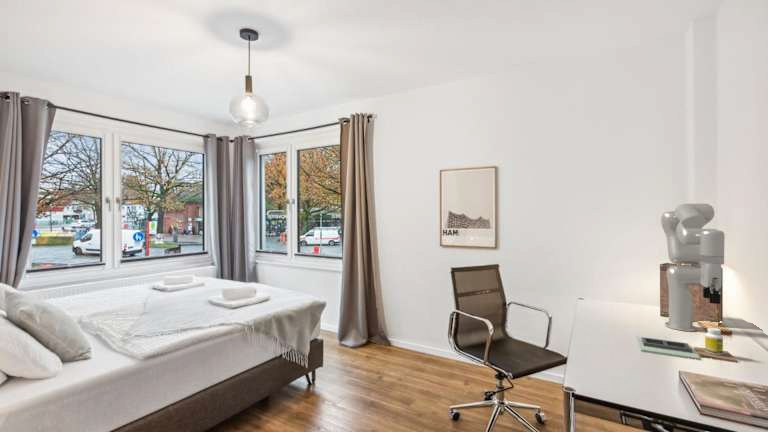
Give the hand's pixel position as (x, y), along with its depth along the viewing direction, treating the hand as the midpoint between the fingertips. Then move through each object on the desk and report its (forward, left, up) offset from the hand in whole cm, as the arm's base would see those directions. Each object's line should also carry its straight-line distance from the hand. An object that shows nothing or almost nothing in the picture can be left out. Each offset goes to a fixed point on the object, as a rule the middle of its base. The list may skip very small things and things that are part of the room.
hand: (711, 300), depth 152 cm
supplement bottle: (+3, 0, -21) cm, 21 cm away
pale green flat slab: (+3, -16, -22) cm, 27 cm away
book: (-60, +4, -22) cm, 64 cm away
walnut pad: (+3, 0, -22) cm, 22 cm away
